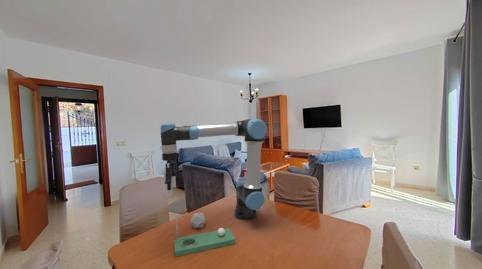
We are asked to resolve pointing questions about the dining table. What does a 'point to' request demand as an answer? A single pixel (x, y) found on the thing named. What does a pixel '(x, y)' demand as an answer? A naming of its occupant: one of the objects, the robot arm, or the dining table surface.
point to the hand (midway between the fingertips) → (171, 191)
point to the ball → (221, 231)
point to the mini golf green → (202, 241)
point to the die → (198, 220)
